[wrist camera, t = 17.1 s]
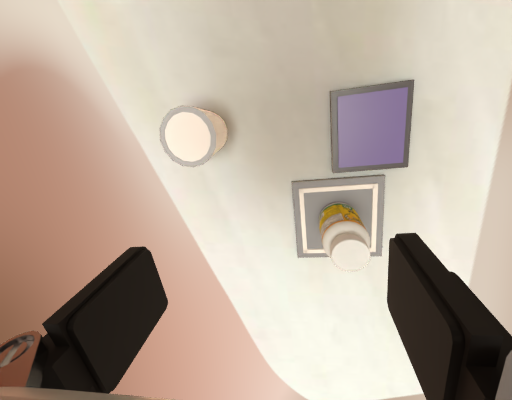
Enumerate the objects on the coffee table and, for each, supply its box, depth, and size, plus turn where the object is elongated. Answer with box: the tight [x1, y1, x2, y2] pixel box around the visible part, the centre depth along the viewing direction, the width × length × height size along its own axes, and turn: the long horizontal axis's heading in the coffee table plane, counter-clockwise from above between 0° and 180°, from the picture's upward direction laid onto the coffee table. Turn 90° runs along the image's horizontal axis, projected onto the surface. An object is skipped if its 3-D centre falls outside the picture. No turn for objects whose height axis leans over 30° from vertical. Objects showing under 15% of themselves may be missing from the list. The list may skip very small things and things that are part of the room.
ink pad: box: [330, 80, 414, 173], centre depth 31 cm, size 10×9×1 cm
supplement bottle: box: [319, 202, 370, 272], centre depth 31 cm, size 5×5×10 cm
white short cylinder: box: [160, 106, 228, 167], centre depth 32 cm, size 7×7×7 cm
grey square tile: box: [292, 175, 385, 258], centre depth 36 cm, size 12×12×1 cm
